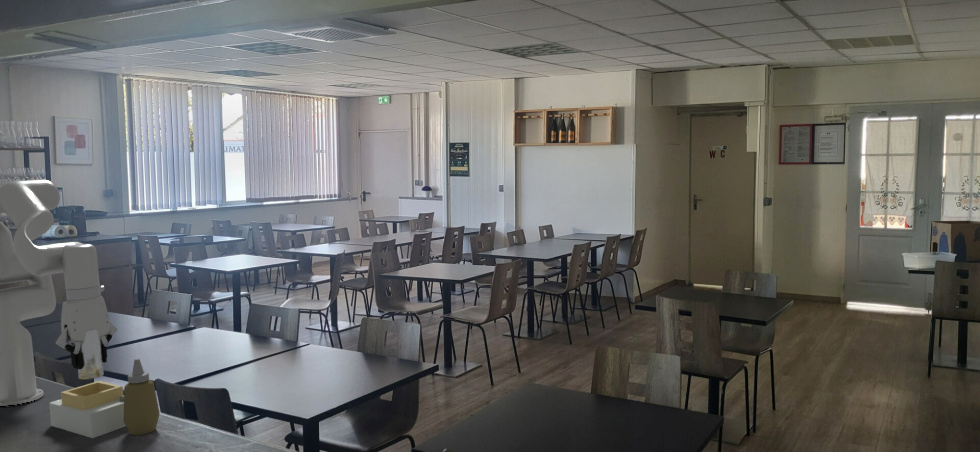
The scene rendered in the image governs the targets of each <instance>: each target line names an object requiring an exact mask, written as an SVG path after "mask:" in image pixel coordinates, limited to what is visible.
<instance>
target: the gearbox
mask: <svg viewBox="0 0 980 452" xmlns="http://www.w3.org/2000/svg"><path fill="white" fill-rule="evenodd" d="M123 388H124V387H123V385H118V384H113V383H111V382H106V381H101V380H99V381H95V382H90V383H87V384H84V385H81V386H77V387H74V388H71V389H67V390H63V391H60V397H61V398H60V399H57V400H53V401H50V402H48V405H49V417H50V426H51V427H54V428H58V429H61V430H65V431H67V432H70V433H74V434H77V435H81V436H84V437H88V438H91V439H94V438H97V437H99V436H103V435H106V434H108V433H111V432H115V431H116V430H119V429H122V428H126V425H125V423H124V389H123Z"/></svg>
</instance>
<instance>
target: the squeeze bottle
mask: <svg viewBox="0 0 980 452" xmlns="http://www.w3.org/2000/svg"><path fill="white" fill-rule="evenodd" d="M127 382H128V383H127V384H125V385H124V387H123V388H124V389H123V395H124V423H125V425H126V426H125V428H127V431H128V432H129V434H131V435H133V436H139V435H145V434H149V433H152V432H154V431H155V430H156V429H157V425H158V421H159V419H160V414H161V413H160V409H159V403H158V399H157V393H156V388H155V382H154V381H152V380H151V379H150V374H149V372H148V371H144V368H143V365H142V362H141V360H140V358H136V359H134V360H133V367H132V373H129V374H127Z"/></svg>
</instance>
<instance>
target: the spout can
mask: <svg viewBox="0 0 980 452" xmlns="http://www.w3.org/2000/svg"><path fill="white" fill-rule="evenodd" d="M79 353H81V354H82V362H83V368H82V369H77V373H78V374H77V375H78V379H79V380H92V379H96V378H99V377H103V376H104V363H103V362H102V351H101V341H100V336H99V331H98V329H94V330H90V331H86V335H85V340H83V341H81V345H80V350H79Z"/></svg>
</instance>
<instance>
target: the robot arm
mask: <svg viewBox="0 0 980 452" xmlns="http://www.w3.org/2000/svg"><path fill="white" fill-rule="evenodd" d="M60 201H61V195H60V192H59V189H58V187H57V186H56V184H54V183H53V182H52V181H50V180H47V179H31V180H30V179H29V180H14V181H7V182H5V183H3V184H1V185H0V217H1V218H2V217H3V218H4V217H8V218H9V219H10V220H11V222H12V223H13V224H14V226H15V227H16V228H17V229H16V231H15V233H14V236H13V235H12V232H11V230H10V229H9V228H8V226H6V225H5V223H3V222H2V221H0V285H6V284H12V283H13V284H14V283H18V282H19V283H20V282H27V283H28V285H27V284H26V285H22V286H14V287H13V286H12V287H7V288H1V289H0V406H6V405H15V406H18V405H17V404H20V405H23V404H22V403H25V404H27V403H26V402H29V403H31V401H32V402H34V400H35V401H37V400H39V399H41V398H42V397H43V396H44V390H43V389H41V388H37V379H36V369H35V359H34V348H33V340H32V339H33V338H32V334H31V333H30V331H29V330H28V329H27V328H26V327H24V326H23V325H22V323H21V322H23V321H26V320H31V319H35V318H40V317H44V316H48V315H51V314H52V313H53V312H54V311H55V309H56V305H57V298H56V293H55V288H54V283H53V279H52V278H53V277H52V275H56V274H57V275H58V274H63V278H64V289H65V300H66V301H62V306H61V307H62V308H61V319H60V327H61V328H60V329H61V333H60V335H59V337H58V338H57V340H56V341H55V344H56V346H58V347H61V348H62V349H63V350H65V351H66V352H68V353H69V354H70V358H71V365H72V367H73V369H76V370H78V369H82V368H83V362H82V354H81V353H79V350H80V345H81V341H83V340H85V335H86V331H90V330H94V329H98V331H99V336H100V341H101V351H102V362H103V364H105V363H107V362H108V360H107V358H108V350H107V347H108V346H109V343H110V341H111V340H112V338H113V336H114V335H115V334H116V333H117V332H118V328H117V327H116V326H114V324H112V323H111V322H110V319H109V318H110V317H109V313H108V312H109V311H108V309H107V305H106V301H105V298H104V297H103V296H102V292H104V291H105V286H104V285H101V284H100V275H99V273H100V272H99V264H98V263H99V262H98V253H97V248H96V247H95V245H94V244H90V243H82V242H80V241H67V242H57V243H50V244H42V245H41V244H40V245H36V244H34V243H33V241H35V240H36V239H38V238H39V237H41V236H44V235H45V234H46V233H47V232H49V230H50V229H51V228H52V227H53V224H54V223H55V218H54V215H53V213H52V212H51V211H53V210H54V209H56V208H57V207H58V206H59V205H60ZM68 342H69V343H68ZM6 407H7V406H6Z"/></svg>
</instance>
